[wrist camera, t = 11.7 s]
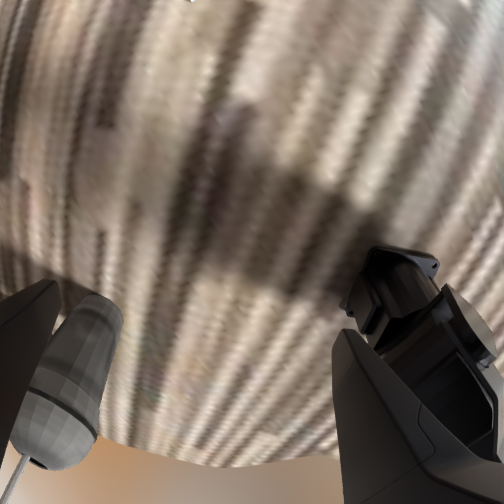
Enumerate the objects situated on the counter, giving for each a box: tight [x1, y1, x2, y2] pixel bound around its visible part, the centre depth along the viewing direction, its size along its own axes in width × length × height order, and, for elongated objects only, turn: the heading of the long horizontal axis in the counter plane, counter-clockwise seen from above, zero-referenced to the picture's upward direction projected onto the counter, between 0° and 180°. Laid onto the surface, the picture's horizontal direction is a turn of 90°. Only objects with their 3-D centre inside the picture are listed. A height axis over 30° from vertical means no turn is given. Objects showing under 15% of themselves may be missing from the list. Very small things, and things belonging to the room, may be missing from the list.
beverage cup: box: [0, 295, 124, 504], centre depth 18 cm, size 7×7×20 cm
